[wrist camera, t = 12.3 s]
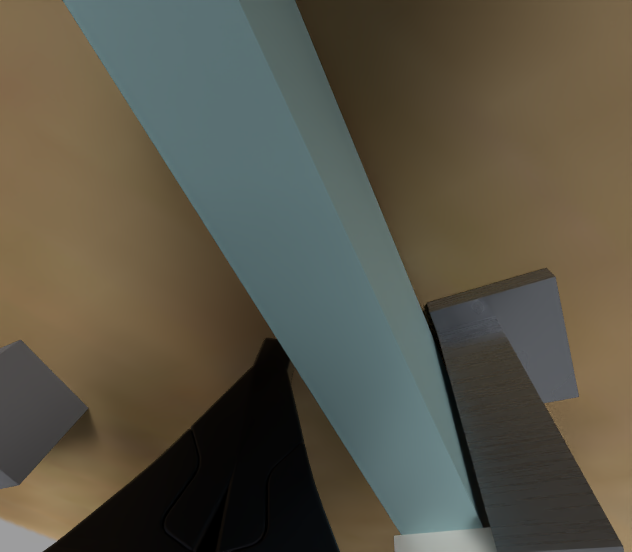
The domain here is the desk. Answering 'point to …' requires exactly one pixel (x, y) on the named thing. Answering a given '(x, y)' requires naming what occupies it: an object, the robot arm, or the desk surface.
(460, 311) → the grey block
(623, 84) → the desk surface
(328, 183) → the light blue bar
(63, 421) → the dark gray cube
